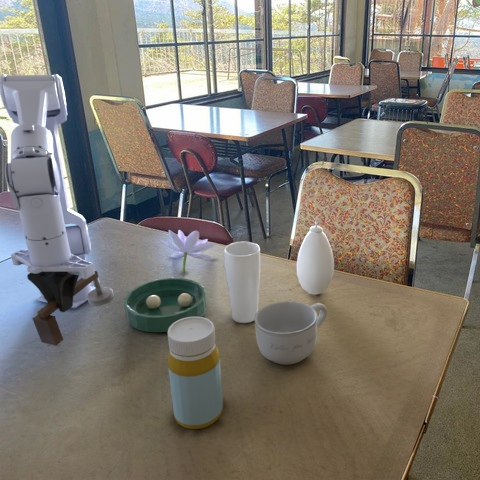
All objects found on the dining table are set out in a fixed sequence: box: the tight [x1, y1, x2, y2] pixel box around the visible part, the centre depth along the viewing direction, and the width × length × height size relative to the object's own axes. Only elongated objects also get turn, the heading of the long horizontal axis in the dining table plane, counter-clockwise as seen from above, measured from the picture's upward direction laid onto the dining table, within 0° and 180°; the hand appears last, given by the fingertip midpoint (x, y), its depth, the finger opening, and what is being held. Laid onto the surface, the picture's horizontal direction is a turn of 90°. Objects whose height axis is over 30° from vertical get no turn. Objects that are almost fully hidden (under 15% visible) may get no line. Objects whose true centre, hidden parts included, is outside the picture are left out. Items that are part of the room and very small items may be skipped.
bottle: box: [167, 316, 224, 430], centre depth 68 cm, size 7×7×15 cm
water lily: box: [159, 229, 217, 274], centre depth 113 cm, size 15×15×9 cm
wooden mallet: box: [32, 270, 115, 346], centre depth 83 cm, size 15×4×6 cm, turn 163°
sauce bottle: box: [296, 215, 335, 296], centre depth 101 cm, size 8×8×18 cm
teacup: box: [253, 300, 328, 366], centre depth 84 cm, size 14×11×8 cm
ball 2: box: [178, 293, 192, 307], centre depth 96 cm, size 3×3×3 cm
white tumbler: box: [223, 241, 262, 324], centre depth 92 cm, size 7×7×15 cm
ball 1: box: [146, 295, 161, 309], centre depth 95 cm, size 3×3×3 cm
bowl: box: [123, 277, 208, 333], centre depth 95 cm, size 15×15×4 cm
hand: (62, 308), depth 81 cm, fingers closed on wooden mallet
